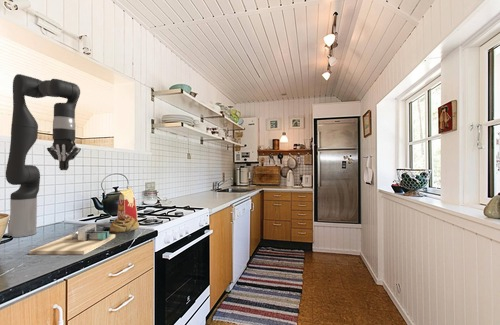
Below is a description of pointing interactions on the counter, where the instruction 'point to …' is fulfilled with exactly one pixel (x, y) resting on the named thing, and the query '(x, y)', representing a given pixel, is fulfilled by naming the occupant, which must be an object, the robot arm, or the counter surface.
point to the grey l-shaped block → (85, 231)
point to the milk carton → (127, 203)
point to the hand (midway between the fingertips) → (63, 170)
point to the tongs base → (90, 232)
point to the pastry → (124, 224)
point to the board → (70, 246)
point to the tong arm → (94, 236)
